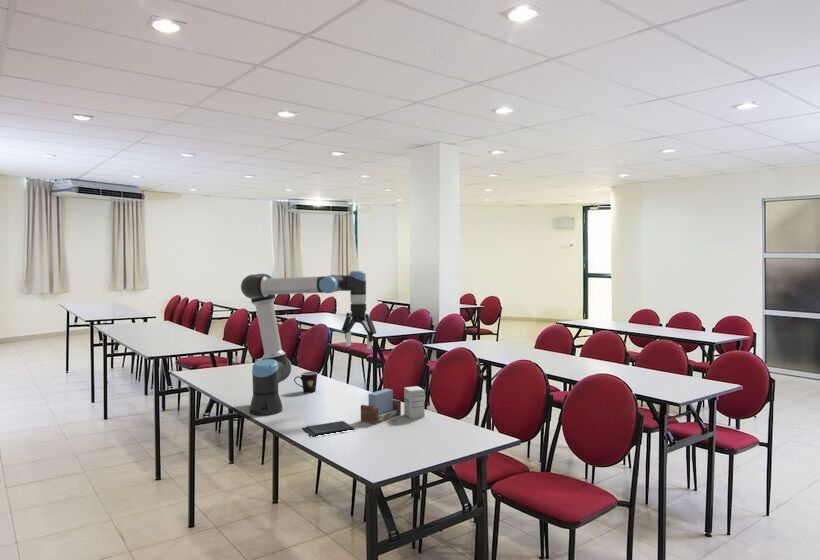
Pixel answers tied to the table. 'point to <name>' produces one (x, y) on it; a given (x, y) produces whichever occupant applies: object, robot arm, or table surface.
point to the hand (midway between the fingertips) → (358, 347)
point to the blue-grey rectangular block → (382, 400)
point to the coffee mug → (308, 381)
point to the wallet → (327, 428)
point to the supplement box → (414, 402)
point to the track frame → (372, 416)
